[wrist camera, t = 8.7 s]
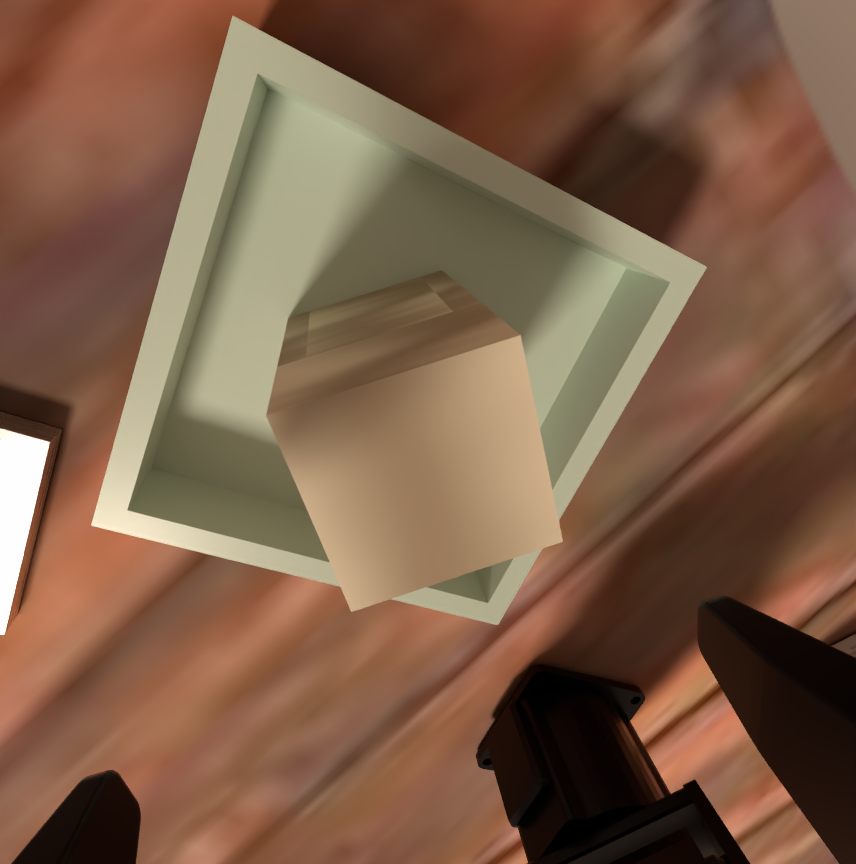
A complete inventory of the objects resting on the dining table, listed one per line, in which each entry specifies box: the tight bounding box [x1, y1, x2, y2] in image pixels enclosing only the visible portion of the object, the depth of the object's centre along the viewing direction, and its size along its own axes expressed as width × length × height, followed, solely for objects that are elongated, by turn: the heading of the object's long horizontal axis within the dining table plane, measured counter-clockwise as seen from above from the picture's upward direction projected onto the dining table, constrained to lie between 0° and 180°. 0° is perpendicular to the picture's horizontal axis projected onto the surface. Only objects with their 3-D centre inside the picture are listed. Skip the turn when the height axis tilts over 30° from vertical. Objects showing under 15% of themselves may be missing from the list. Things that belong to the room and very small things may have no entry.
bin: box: [91, 16, 707, 625], centre depth 18 cm, size 14×14×4 cm
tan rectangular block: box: [266, 270, 563, 612], centre depth 16 cm, size 5×5×8 cm
